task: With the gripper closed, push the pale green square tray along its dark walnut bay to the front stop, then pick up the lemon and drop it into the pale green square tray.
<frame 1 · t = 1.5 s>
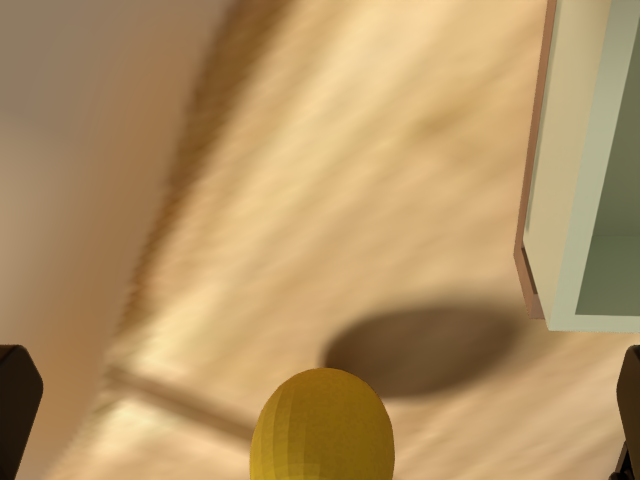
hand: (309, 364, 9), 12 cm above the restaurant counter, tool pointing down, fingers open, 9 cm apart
lemon: (333, 371, 27), on the restaurant counter
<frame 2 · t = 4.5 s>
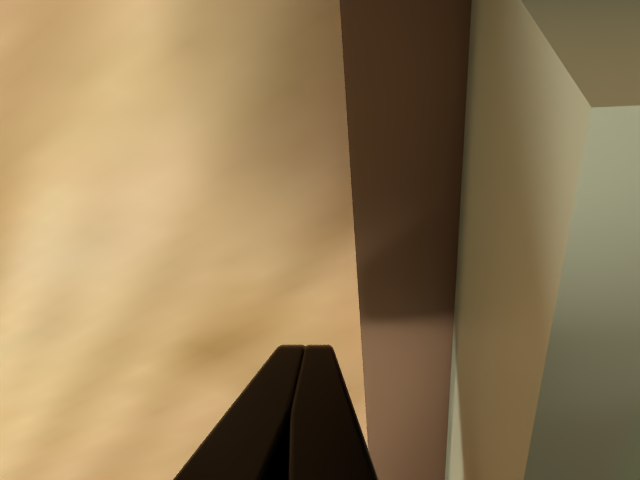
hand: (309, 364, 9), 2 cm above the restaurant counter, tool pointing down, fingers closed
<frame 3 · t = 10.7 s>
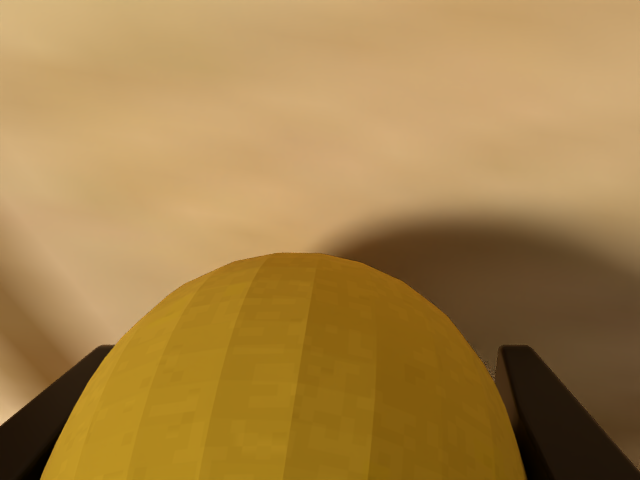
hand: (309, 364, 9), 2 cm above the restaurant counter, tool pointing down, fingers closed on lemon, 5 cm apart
lemon: (321, 285, 11), on the restaurant counter, touching gripper
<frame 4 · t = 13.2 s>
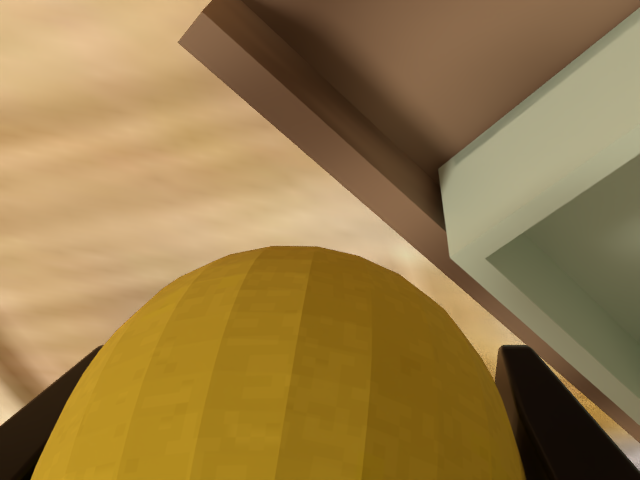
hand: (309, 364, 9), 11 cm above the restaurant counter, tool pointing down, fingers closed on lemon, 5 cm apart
lemon: (318, 280, 11), point 10 cm above the restaurant counter, touching gripper
bay: (637, 88, 18), on the restaurant counter
when the fingers open (5 cm above the restaurant counter, at t = 15.5 s): lemon drops 2 cm, resting on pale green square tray.
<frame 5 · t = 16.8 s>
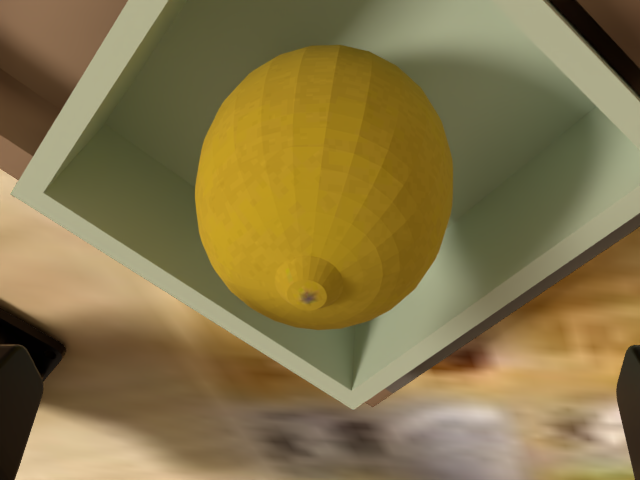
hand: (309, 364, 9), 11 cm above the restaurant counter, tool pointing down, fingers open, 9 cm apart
lemon: (338, 105, 17), point 2 cm above the restaurant counter, touching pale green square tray
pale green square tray: (338, 138, 15), point 3 cm above the restaurant counter, slide at 8.0 cm, touching lemon
bay: (266, 21, 17), on the restaurant counter
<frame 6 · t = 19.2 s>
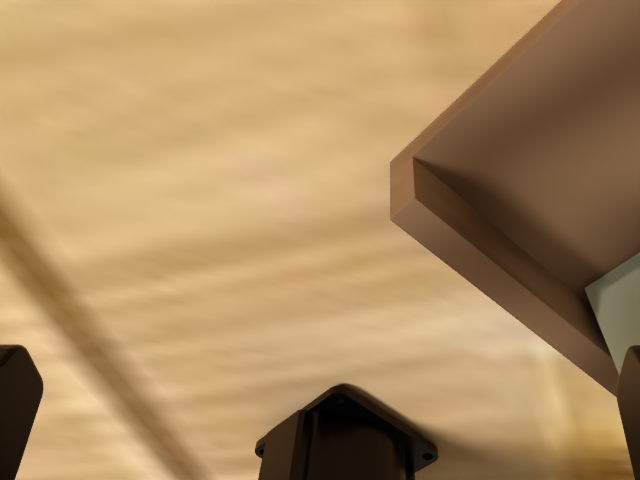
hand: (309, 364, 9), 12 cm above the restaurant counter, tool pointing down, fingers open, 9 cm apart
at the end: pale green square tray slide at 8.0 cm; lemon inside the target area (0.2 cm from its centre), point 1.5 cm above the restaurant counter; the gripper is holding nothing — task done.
